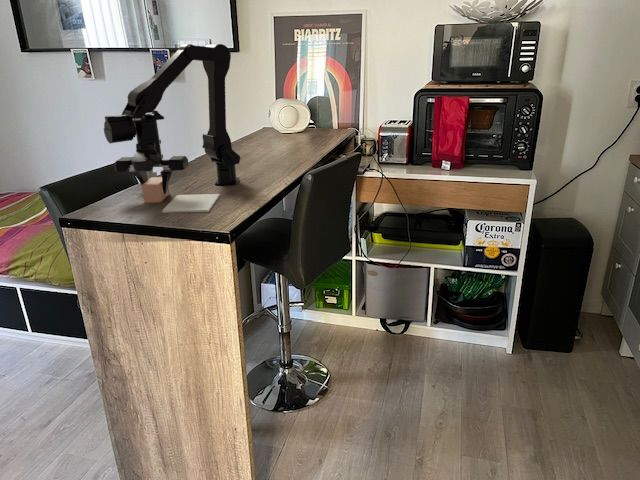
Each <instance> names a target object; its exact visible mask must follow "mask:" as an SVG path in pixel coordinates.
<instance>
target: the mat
mask: <svg viewBox="0 0 640 480" xmlns="http://www.w3.org/2000/svg"><path fill="white" fill-rule="evenodd" d="M220 196H221V195H220V193H214V194H213V193H212V194H211V193H206V194H202V193H201V194H199V193H198V194H177V195H176V196H174V198H173V199H172V200H170V202H169V203H168V204H167V205H166V206H165V207H164V208H163V209H162V210H161V213H163V214H164V213H167V214H168V213H170V214H171V213H205V212H206V213H209V212H210V210H212V208H213V206H214V205H215V203H216V202H217V201H218V199H219V198H220Z"/></svg>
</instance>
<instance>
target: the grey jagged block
mask: <svg viewBox="0 0 640 480" xmlns="http://www.w3.org/2000/svg"><path fill="white" fill-rule="evenodd" d="M147 177H148V180H149V179H150V178H151V177H158V173H157V171H156V170H154V169H153V170H151V171H147Z"/></svg>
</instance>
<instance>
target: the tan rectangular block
mask: <svg viewBox="0 0 640 480" xmlns="http://www.w3.org/2000/svg"><path fill="white" fill-rule="evenodd" d="M141 189H142V195H143V196H142V197H143V202H144V203H146V204H147V203H162V202H163V201H164V200H165V199H166V198H167V197H168V196H169V195H170V188H169V186H168V188H167V192H166V194H164V192H163V184H162V176H157V177H151V178H150V179H149V180H147V181H146V182H145V183H143V184H142V185H141Z"/></svg>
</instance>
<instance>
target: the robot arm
mask: <svg viewBox="0 0 640 480" xmlns="http://www.w3.org/2000/svg"><path fill="white" fill-rule="evenodd" d="M231 55H232V54H231V51H230V49H229V48H228V47H227V46H226V45H225V44H222V43H213V44H212V43H210V44H206V45H205V46H203V45H194V44H192V43H191V44H188V43H187V44H185V43H184V44H182V45H180V46H179V47H178V49H177V50H176V52H175V53H173V54H172V55H171V57H170V58H169V59H168V60H167V61H166V62H165V63H164V64H163V65H162V66H161V67H160V68H159V69H158V71H157V72H156V73H155V74H154V75H153V76H152V77H150V78H149V79H148V80H146V81H144V82H142V83H140V84H139V85H137V86H136V87H134V89H132V90H130V91H129V93H128V94H127V103H126V105H125V107H124V109H123V110H122V112H121V114H118V115H105V116H104V124H103V132H104V137H105V139H106V141H107V142H108V144H114V143H115V144H116V143H124V142H130V141H133V140H134V138H136V142H137V143H135V149H136V150H135V153H134V154H133V156H126V157H125V156H124V157H120V158H119V159H117V160H115V162H114V170H115V171H114V172H121V173H122V172H127V171H128V170H129V171H128V174H129V175H133V176H134V177H135V178H136V179H137V180H138V181H139V183H140V185H141V186H142V184H143V183H145V182H146V181H147V180H148V177H147V171H151V170H153V171H154V168H160V167H161V168H162V170H161V171H160V176H161V177H162V184H163V192H164V194H166V192H167V188H168V187H169V184H170V180H171V177H172V174H173V172H175V171H183V170H186V168H188V167H189V166H190V165H189V159H188V157H187V156H186V155H173V156H172V157H170V158H169V159H164V154H162V149H161V148H162V147H161V144H162V139H160V135H159V134H160V133H159V127H158V122H157V121H160V120H164V119H165V116H164V115H162V114H160V112H159V111H158V110H156V108H157V107H158V105H159V104H160V103H161V101H162V99H163V96H164V93H165V91H166V90H167V89H168V88H169V86H171V84H172V83H173V82H174V81H175V80H176V79H177V78H178V77H179V75H181V74H182V72H183V71H184V70H185V69H186V68H187V67H188V66H189V65H190V64H191V63H192V62H193V61H199V62H202V66H203V69H204V71H205V73H206V76H207V85H208V86H207V87H208V88H207V89H208V117H209V118H208V121H209V125H208V126H209V127H208V131H207V134H204V133H203V134H202V142H203V143H202V148H203V149H204V152H205V154H206V155H207V156H208V157H209V158H210V160H211V162H213V163H215V166H216V176H217V180H216V181H215V182H214V185H215V186H221V185H222V186H227V185H228V186H229V185H230V186H233V185H237V184H238V183H239V180H240V177H237V169H236V165H238V164H240V161H241V156H240V154H238V153H237V152H235V150H233V146H232V145H233V144H232V140H231V137H230V135H229V132H228V130H227V113H226V111H227V109H226V106H227V104H226V101H227V100H226V77H227V74H228V72H229V70H230V66H231V58H232V57H231Z"/></svg>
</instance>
